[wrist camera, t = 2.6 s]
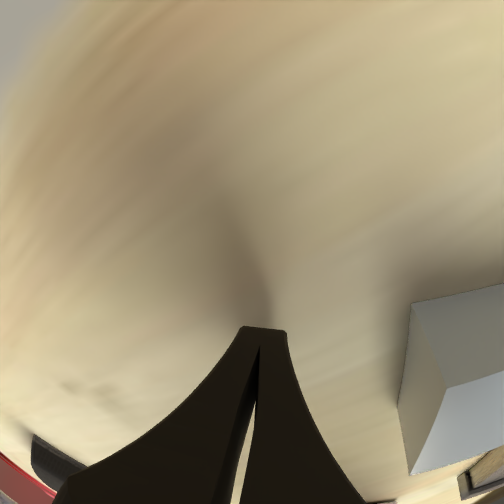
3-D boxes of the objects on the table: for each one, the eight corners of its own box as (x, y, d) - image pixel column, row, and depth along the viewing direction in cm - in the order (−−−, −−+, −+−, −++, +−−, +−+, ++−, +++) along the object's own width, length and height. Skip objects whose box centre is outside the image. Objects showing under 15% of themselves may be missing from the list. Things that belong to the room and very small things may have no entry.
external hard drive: (132, 484, 24) (121, 513, 20) (121, 504, 33) (114, 523, 29) (30, 426, 23) (15, 451, 19) (50, 467, 32) (41, 484, 28)
